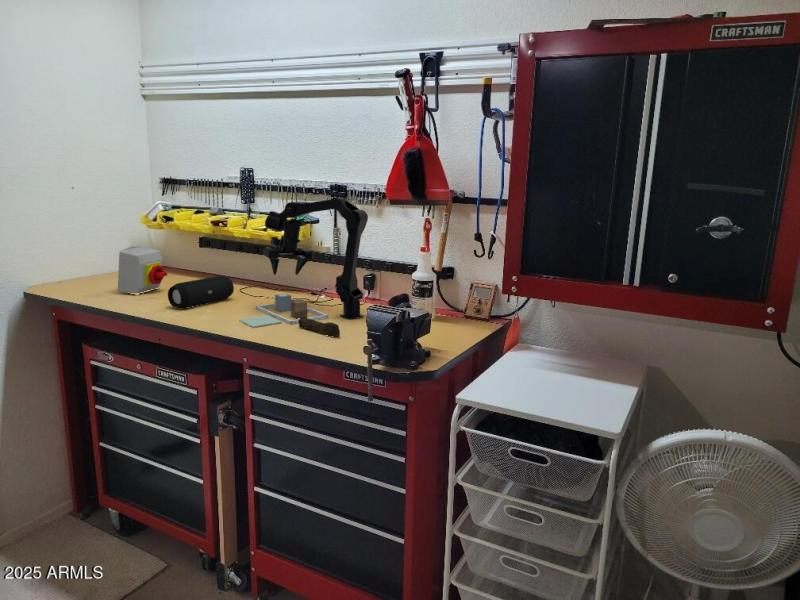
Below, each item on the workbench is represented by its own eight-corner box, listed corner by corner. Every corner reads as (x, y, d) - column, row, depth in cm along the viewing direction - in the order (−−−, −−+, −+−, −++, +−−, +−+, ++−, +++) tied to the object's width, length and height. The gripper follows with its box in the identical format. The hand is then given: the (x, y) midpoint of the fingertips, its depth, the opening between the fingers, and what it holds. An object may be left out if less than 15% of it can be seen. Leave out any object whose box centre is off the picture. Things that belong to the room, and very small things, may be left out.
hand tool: (297, 328, 203) (297, 315, 202) (307, 326, 206) (307, 313, 204) (332, 340, 190) (332, 327, 189) (342, 338, 193) (342, 324, 192)
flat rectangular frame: (328, 318, 216) (328, 315, 216) (290, 324, 207) (290, 321, 206) (291, 303, 237) (291, 300, 237) (255, 309, 227) (255, 306, 227)
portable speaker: (183, 312, 222) (181, 286, 219) (167, 308, 227) (165, 282, 225) (235, 300, 243) (234, 276, 240) (219, 296, 248) (218, 273, 246)
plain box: (307, 317, 217) (307, 301, 216) (296, 319, 214) (296, 303, 213) (301, 314, 220) (301, 299, 219) (290, 316, 218) (290, 300, 216)
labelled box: (291, 310, 226) (291, 295, 225) (281, 312, 223) (280, 296, 222) (286, 308, 229) (285, 293, 228) (275, 310, 227) (275, 294, 225)
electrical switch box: (147, 301, 245) (150, 255, 240) (117, 294, 248) (119, 247, 243) (170, 294, 259) (172, 250, 254) (140, 287, 262) (143, 243, 257)
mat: (281, 323, 208) (281, 321, 208) (252, 328, 201) (252, 326, 201) (267, 316, 216) (267, 315, 216) (239, 321, 210) (238, 319, 209)
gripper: (303, 230, 232) (297, 268, 237) (259, 228, 221) (253, 268, 225) (316, 238, 224) (310, 277, 229) (272, 236, 213) (266, 277, 217)
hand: (285, 274), depth 225 cm, fingers open, 9 cm apart
